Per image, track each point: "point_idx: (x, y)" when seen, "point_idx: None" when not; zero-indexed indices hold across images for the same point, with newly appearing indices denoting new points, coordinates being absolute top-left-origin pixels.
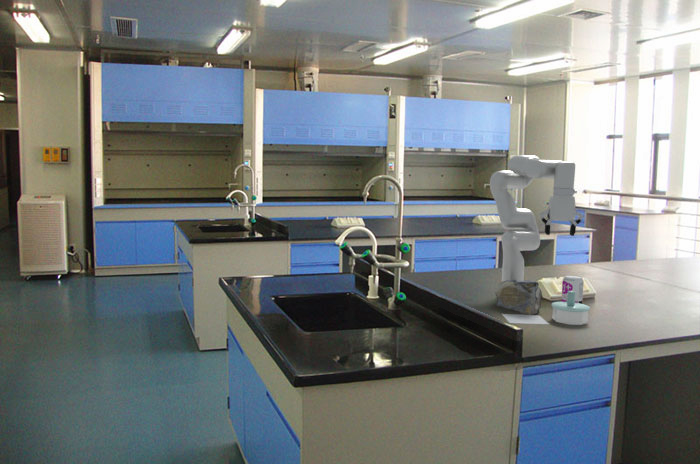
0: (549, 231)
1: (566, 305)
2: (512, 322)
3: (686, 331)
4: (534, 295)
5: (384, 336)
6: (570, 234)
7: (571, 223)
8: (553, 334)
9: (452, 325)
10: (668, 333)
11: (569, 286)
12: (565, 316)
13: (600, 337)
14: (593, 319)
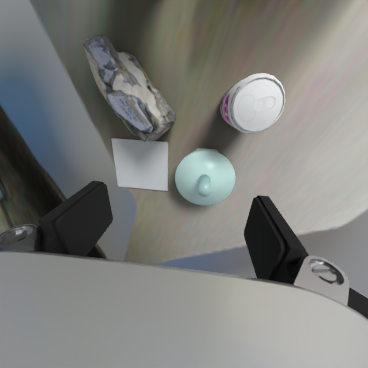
0: (99, 235)
1: (197, 179)
2: (121, 184)
3: (346, 214)
4: (154, 135)
5: (4, 226)
6: (251, 211)
7: (294, 280)
8: (160, 223)
9: (53, 192)
10: (309, 222)
11: (233, 126)
12: None
13: (208, 233)
14: (249, 157)
